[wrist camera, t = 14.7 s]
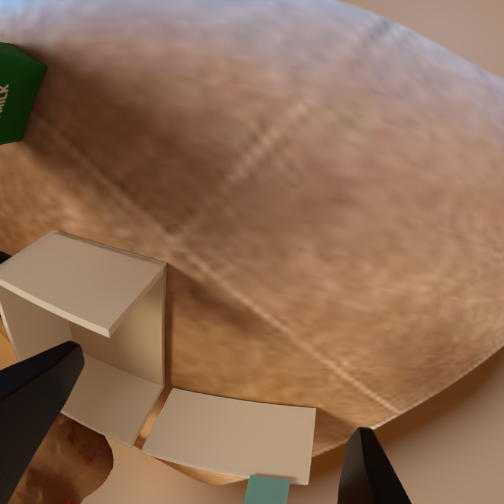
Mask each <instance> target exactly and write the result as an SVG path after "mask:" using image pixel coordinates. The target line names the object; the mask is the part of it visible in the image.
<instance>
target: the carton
mask: <svg viewBox="0 0 504 504" xmlns="http://www.w3.org/2000/svg"><path fill="white" fill-rule="evenodd" d="M166 279H167V263H166V262H162V261H158V260H155V259H151V258H148V257H145V256H141V255H138V254H134V253H131V252H127V251H124V250H120V249H117V248H114V247H110V246H107V245H104V244H100V243H97V242H94V241H90V240H87V239H84V238H81V237H77V236H74V235H71V234H68V233H64V232H61V231H58V230H54V231H52V232H50V233H49V234H47V235H46V236H44V237H42V238H41V239H39V240H37V241H36V242H34V243H33V244H31V245H29V246H28V247H26V248H25V249H23V250H21V251H20V252H18V253H17V254H15V255H14V256H12V257H11V258H9V259H8V260H6V261H5V262H3V263H2V264H0V314H1V317H2V320H3V323H4V326H5V329H6V331H7V334H8V337H9V340H10V342H11V345H12V347H13V350H14V353H15V355H16V358H17V360H18V362H20V361H23V360H25V359H27V358H30V357H32V356H34V355H36V354H39V353H41V352H43V351H46V350H48V349H50V348H53V347H55V346H57V345H59V344H62V343H64V342H66V341H69V340H72V341H74V342H76V343H78V344H80V345H81V347H82V351H83V355H84V359H85V365H84V368H83V370H82V372H81V374H80V376H79V378H78V380H77V382H76V384H75V386H74V388H73V390H72V392H71V394H70V396H69V398H68V400H67V402H66V404H65V405H64V407H63V408H62V410H61V413H63V414H64V415H66V416H68V417H70V418H71V419H73V420H75V421H77V422H79V423H81V424H83V425H84V426H86V427H88V428H90V429H92V430H94V431H96V432H98V433H100V434H102V435H104V436H106V437H108V438H111V439H113V440H115V441H117V442H119V443H122V444H124V445H126V446H128V447H131V448H132V447H133V445H134V443H135V441H136V439H137V437H138V435H139V433H140V431H141V430H142V428H143V426H144V424H145V422H146V420H147V418H148V416H149V415H150V413H151V411H152V409H153V407H154V405H155V403H156V401H157V400H158V398H159V396H160V394H161V392H162V390H163V388H164V387H165V307H166Z"/></svg>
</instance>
